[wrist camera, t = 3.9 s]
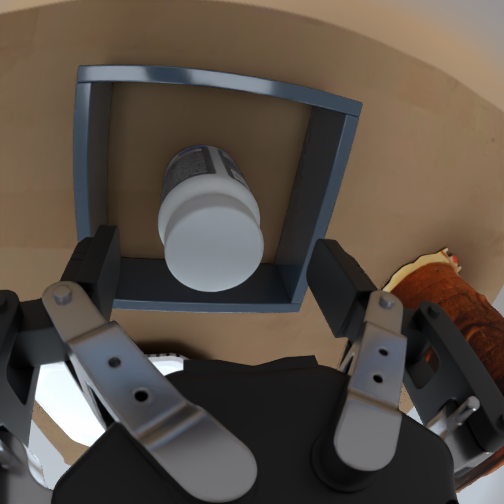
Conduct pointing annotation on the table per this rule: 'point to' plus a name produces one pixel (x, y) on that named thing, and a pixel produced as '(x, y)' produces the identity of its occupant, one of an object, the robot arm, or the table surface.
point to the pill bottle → (209, 220)
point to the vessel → (457, 325)
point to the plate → (82, 397)
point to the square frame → (299, 212)
